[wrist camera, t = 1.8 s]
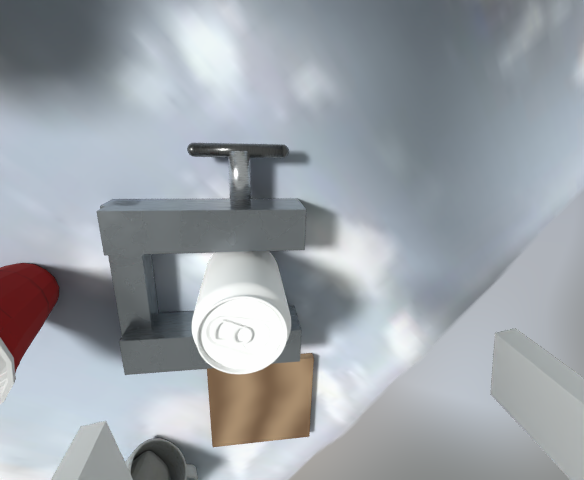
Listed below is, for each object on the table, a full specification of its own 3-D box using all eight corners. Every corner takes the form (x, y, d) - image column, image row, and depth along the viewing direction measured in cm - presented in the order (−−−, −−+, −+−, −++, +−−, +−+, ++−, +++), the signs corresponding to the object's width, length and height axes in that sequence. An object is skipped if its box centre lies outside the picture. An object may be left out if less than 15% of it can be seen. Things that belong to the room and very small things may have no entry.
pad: (213, 440, 44) (212, 447, 43) (207, 360, 39) (206, 366, 38) (307, 430, 45) (309, 436, 44) (312, 353, 41) (313, 358, 40)
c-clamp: (135, 344, 37) (119, 375, 33) (103, 139, 30) (77, 141, 25) (293, 334, 40) (300, 361, 35) (299, 143, 33) (308, 146, 28)
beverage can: (265, 311, 38) (274, 387, 27) (197, 295, 36) (177, 369, 25) (288, 250, 36) (308, 305, 25) (217, 230, 34) (204, 279, 23)
